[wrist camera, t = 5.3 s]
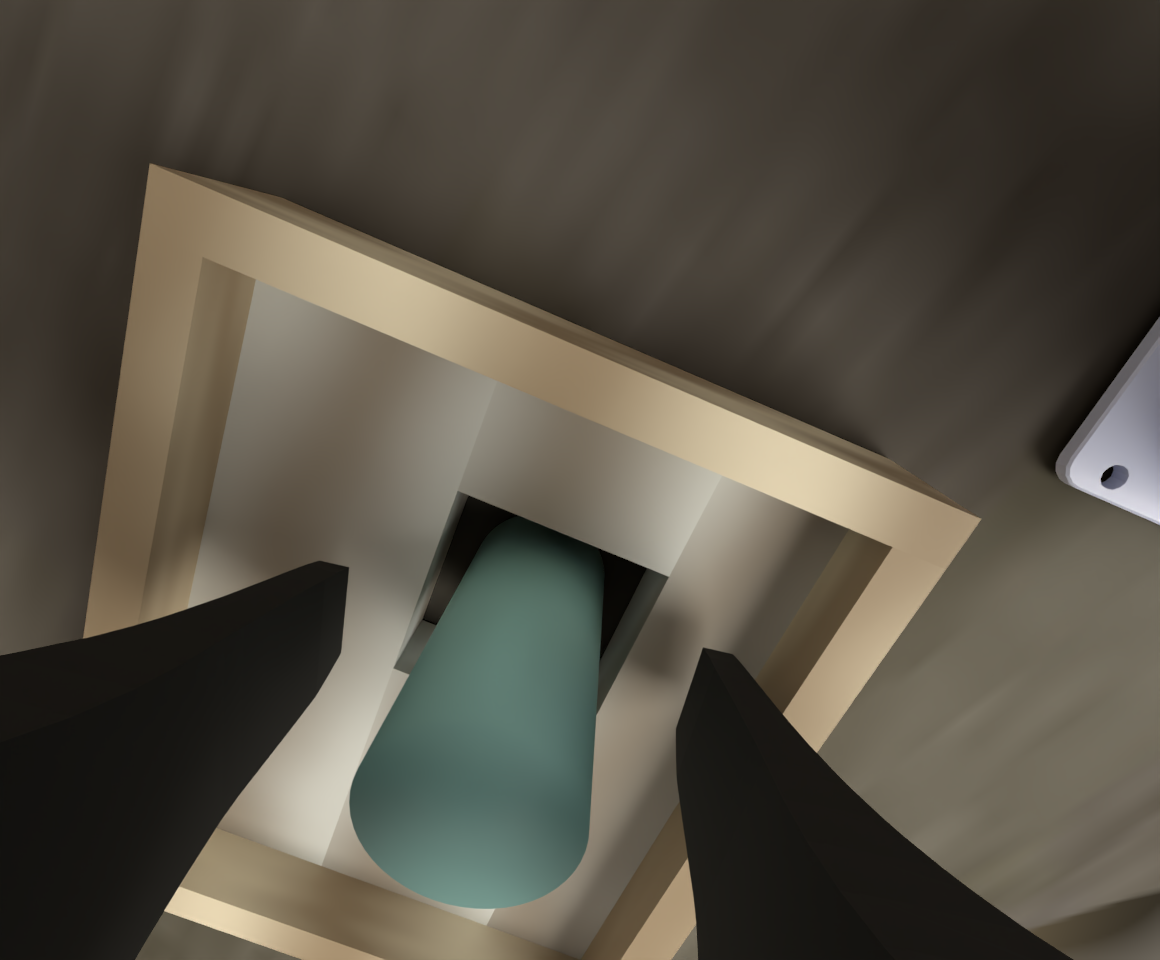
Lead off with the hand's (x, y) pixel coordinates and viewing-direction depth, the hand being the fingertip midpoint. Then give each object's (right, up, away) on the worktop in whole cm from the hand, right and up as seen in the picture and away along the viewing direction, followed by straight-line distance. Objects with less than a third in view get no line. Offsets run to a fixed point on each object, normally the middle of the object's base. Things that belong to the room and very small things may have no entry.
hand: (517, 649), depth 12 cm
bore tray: (-2, 0, +3) cm, 4 cm away
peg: (0, +1, +3) cm, 3 cm away
